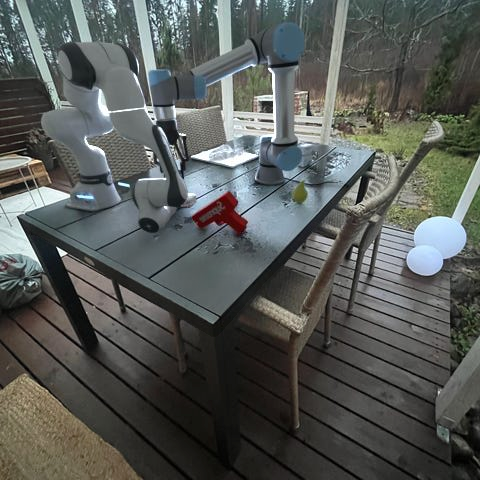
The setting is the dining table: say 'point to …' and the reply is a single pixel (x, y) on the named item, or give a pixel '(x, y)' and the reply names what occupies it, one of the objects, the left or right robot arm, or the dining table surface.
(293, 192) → the fruit
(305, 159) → the ink box
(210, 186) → the dining table surface
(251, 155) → the relief map
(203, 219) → the toy gun
